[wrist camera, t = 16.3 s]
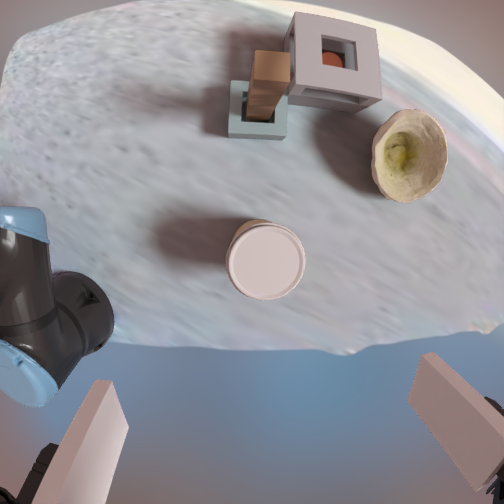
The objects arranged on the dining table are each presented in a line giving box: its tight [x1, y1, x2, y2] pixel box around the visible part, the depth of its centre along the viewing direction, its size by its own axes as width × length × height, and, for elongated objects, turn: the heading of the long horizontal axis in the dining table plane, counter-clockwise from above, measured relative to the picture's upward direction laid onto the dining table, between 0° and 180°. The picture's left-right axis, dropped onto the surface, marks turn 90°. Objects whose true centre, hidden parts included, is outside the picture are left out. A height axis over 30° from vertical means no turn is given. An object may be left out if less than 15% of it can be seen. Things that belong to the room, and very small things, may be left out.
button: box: [322, 52, 343, 68], centre depth 37 cm, size 4×4×5 cm
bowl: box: [371, 109, 448, 203], centre depth 39 cm, size 15×14×10 cm
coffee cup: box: [226, 219, 305, 300], centre depth 39 cm, size 9×9×12 cm
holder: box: [228, 80, 288, 140], centre depth 39 cm, size 8×8×4 cm
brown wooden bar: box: [245, 50, 290, 123], centre depth 31 cm, size 3×3×18 cm
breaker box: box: [284, 12, 382, 114], centre depth 35 cm, size 12×12×10 cm
